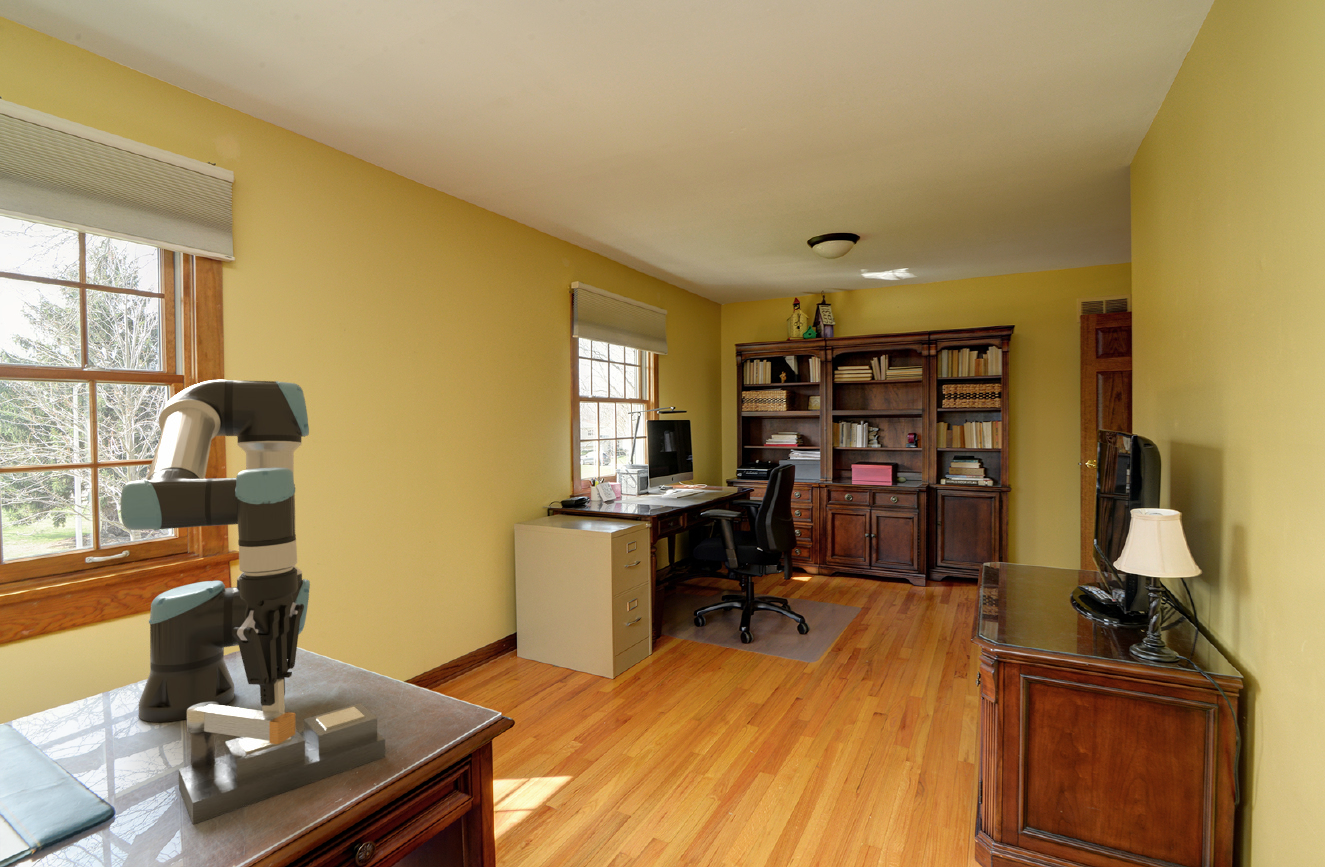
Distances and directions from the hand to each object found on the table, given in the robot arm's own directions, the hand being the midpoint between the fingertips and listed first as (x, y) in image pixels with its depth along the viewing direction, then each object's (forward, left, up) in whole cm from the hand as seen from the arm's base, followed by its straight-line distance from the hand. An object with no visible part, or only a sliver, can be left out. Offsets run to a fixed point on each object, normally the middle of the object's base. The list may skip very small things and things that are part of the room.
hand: (273, 722), depth 98 cm
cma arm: (-3, -4, -1) cm, 5 cm away
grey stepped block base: (-2, +2, -10) cm, 10 cm away
